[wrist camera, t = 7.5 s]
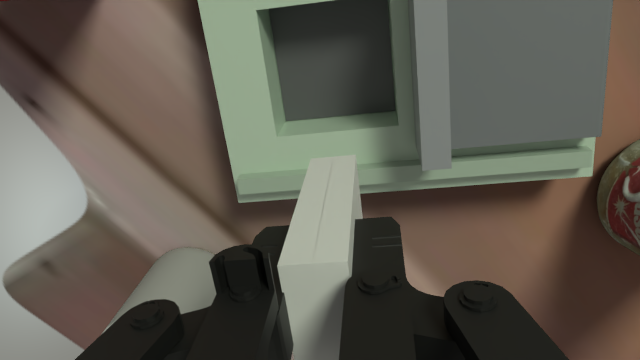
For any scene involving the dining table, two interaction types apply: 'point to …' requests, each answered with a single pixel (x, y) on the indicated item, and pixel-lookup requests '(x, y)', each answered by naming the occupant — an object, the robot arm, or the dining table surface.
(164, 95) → the dining table surface
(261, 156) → the socket block
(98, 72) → the dining table surface
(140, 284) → the cup
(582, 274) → the dining table surface
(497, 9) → the shutter lid
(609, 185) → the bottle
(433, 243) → the dining table surface
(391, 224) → the robot arm
